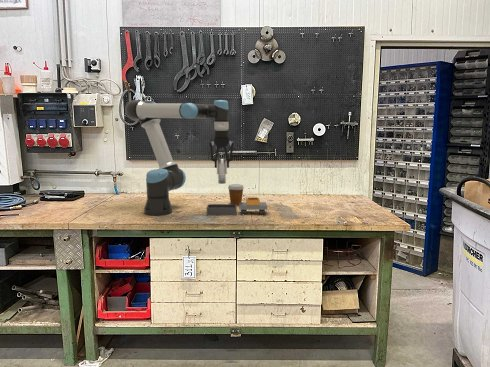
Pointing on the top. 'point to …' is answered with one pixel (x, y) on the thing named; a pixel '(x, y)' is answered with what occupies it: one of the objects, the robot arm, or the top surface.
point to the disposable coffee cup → (235, 193)
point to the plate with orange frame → (252, 205)
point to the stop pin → (221, 171)
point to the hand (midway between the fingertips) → (221, 173)
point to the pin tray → (221, 209)
